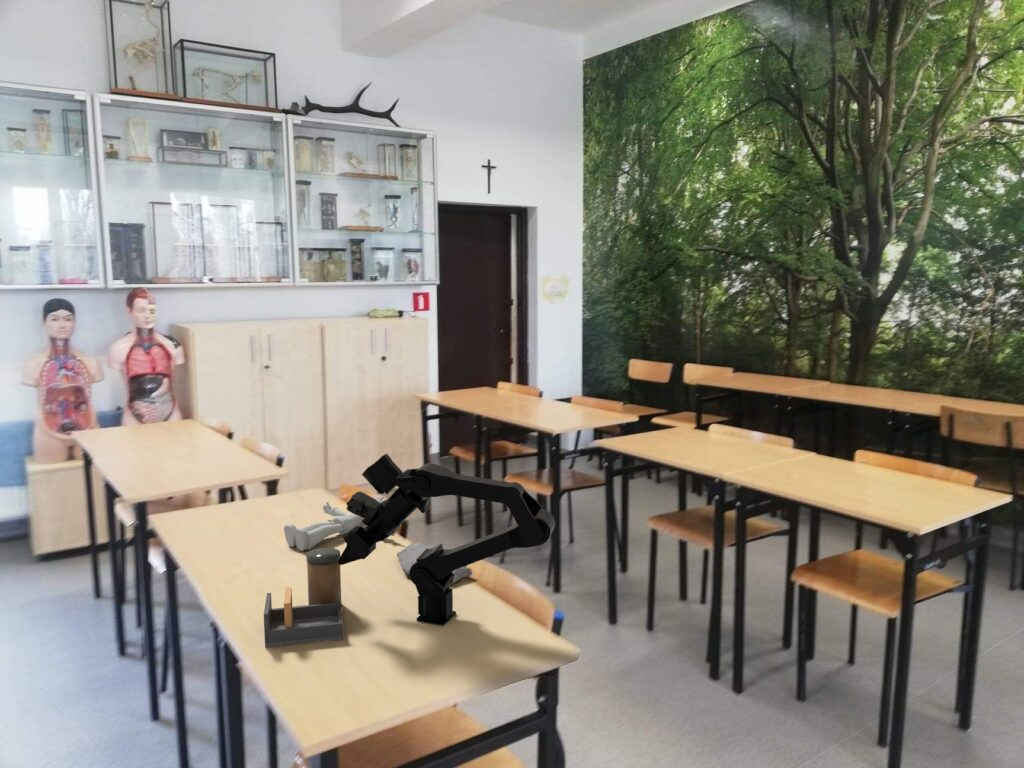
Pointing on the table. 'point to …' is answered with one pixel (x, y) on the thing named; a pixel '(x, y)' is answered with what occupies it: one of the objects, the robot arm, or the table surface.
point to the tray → (303, 624)
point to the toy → (323, 528)
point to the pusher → (288, 607)
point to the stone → (415, 551)
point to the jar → (323, 576)
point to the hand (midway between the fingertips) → (348, 555)
